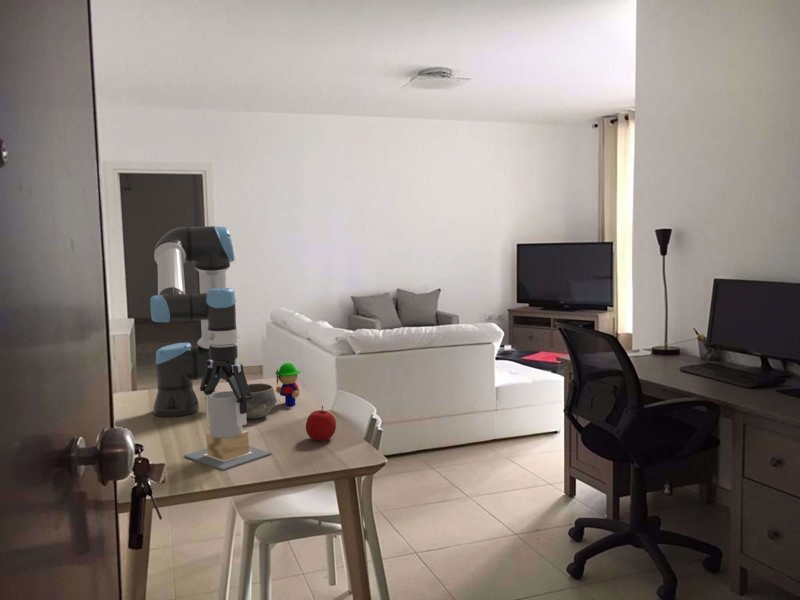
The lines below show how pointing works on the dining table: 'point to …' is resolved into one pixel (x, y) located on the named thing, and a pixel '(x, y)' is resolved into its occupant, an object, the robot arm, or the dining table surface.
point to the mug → (223, 415)
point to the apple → (320, 425)
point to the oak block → (228, 446)
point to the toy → (288, 383)
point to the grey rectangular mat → (230, 463)
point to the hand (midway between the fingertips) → (226, 420)
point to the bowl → (260, 400)
